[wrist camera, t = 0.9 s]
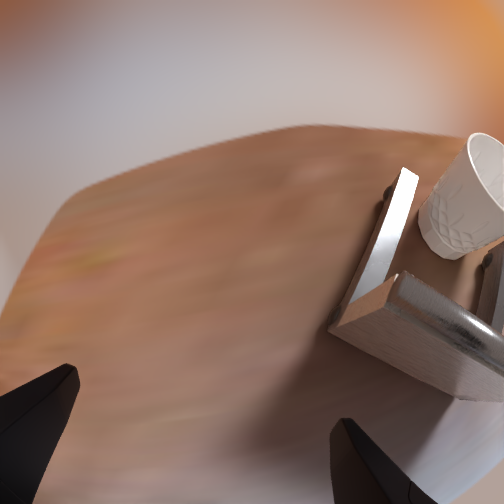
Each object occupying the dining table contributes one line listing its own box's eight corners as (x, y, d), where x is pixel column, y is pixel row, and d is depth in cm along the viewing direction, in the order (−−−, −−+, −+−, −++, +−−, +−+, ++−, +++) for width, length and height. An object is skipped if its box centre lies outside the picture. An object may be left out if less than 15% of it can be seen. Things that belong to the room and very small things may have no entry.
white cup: (464, 201, 25) (516, 148, 16) (476, 270, 23) (544, 229, 13) (407, 187, 26) (455, 120, 16) (415, 262, 23) (484, 209, 14)
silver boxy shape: (455, 400, 18) (560, 403, 7) (318, 330, 21) (389, 295, 10) (493, 263, 23) (573, 213, 11) (383, 189, 25) (441, 95, 14)
